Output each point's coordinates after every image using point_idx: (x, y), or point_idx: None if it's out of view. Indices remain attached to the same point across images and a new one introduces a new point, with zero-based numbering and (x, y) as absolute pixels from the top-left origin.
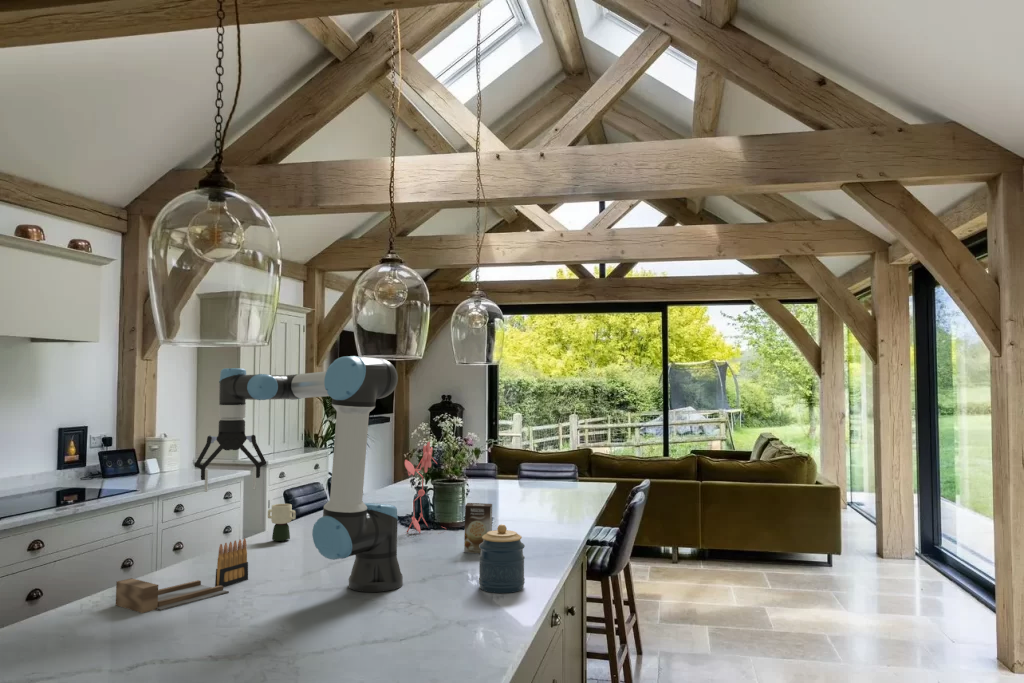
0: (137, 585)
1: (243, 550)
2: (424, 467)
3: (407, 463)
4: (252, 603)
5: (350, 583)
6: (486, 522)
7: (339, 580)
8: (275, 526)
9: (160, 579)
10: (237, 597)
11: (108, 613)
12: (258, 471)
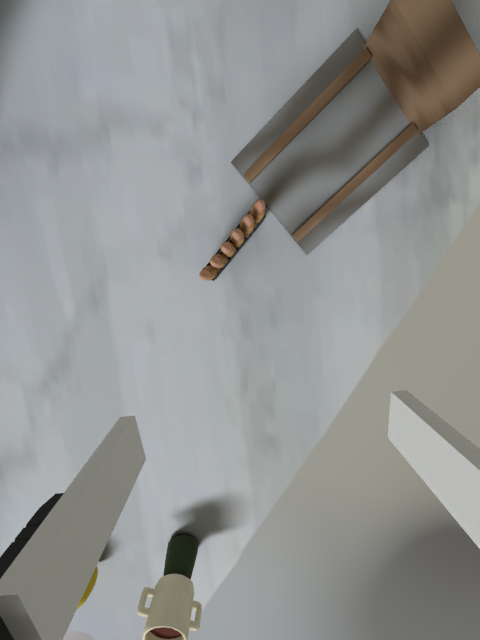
0: (443, 5)
1: (208, 268)
2: None
3: None
4: (171, 49)
5: None
6: None
7: (20, 217)
8: (187, 571)
9: (367, 309)
10: (209, 116)
11: None
12: (15, 557)
